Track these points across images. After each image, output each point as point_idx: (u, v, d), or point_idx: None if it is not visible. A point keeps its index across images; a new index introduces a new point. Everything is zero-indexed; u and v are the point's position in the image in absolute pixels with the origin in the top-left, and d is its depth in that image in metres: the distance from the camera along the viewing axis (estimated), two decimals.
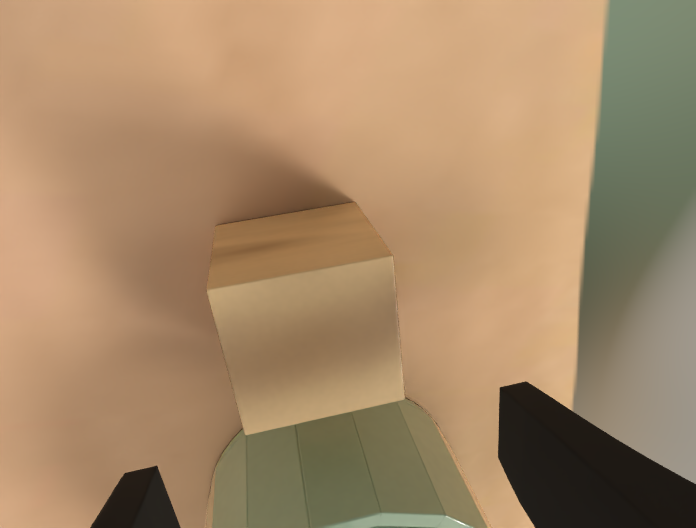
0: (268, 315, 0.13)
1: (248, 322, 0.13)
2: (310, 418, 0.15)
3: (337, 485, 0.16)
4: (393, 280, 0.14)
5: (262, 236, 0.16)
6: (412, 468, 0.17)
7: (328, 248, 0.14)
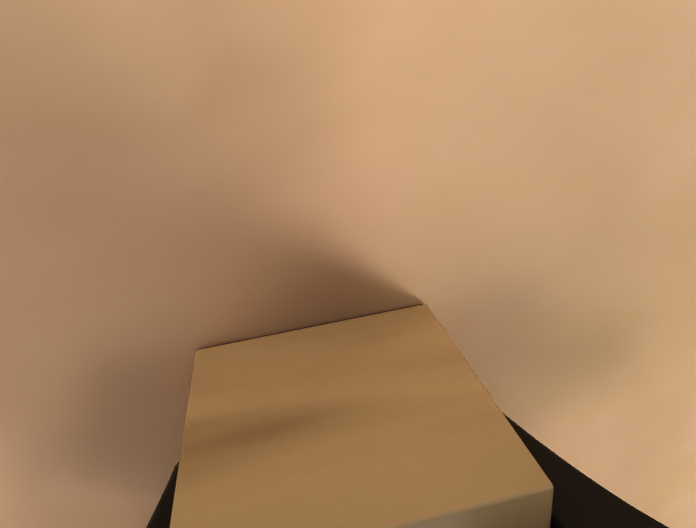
0: None
1: None
2: None
3: None
4: (546, 526, 0.07)
5: (276, 390, 0.09)
6: None
7: (407, 442, 0.07)
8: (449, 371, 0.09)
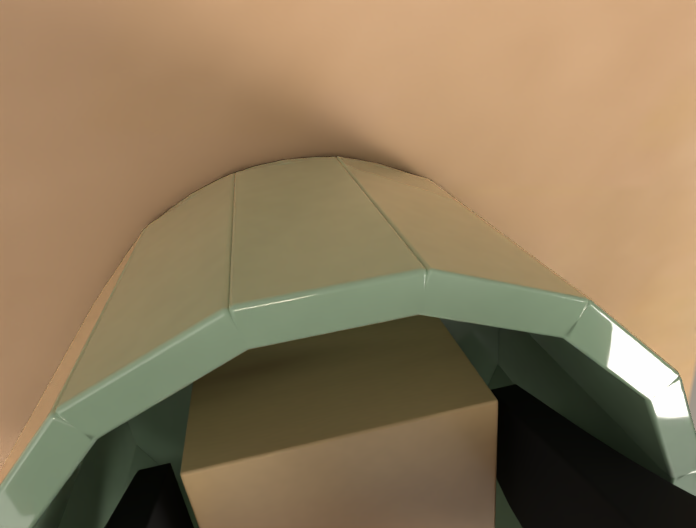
0: (287, 502, 0.08)
1: (254, 515, 0.08)
2: None
3: (312, 240, 0.07)
4: (494, 436, 0.08)
5: None
6: (486, 236, 0.08)
7: (382, 372, 0.09)
8: (421, 321, 0.10)
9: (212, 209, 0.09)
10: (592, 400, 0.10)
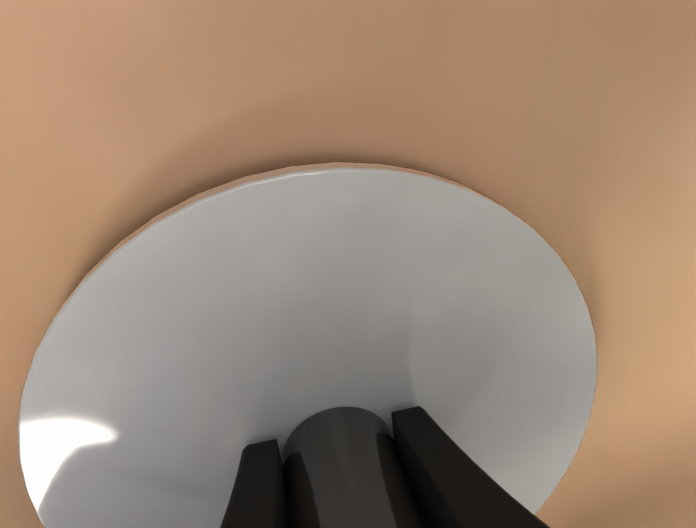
0: None
1: None
2: None
3: None
4: None
5: None
6: None
7: None
8: None
9: None
10: None
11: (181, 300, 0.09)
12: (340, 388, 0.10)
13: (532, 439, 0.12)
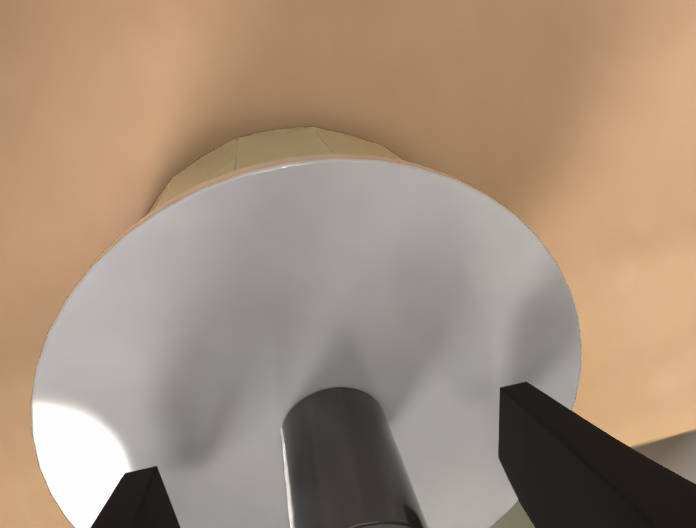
0: None
1: None
2: None
3: None
4: None
5: None
6: None
7: None
8: None
9: None
10: None
11: (185, 283, 0.09)
12: (335, 369, 0.11)
13: None
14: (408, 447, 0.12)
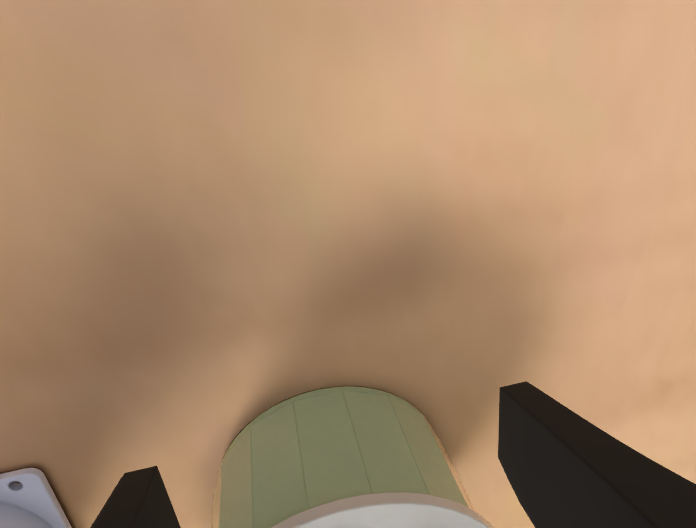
0: None
1: None
2: None
3: None
4: None
5: None
6: None
7: None
8: None
9: (452, 466, 0.23)
10: None
11: None
12: None
13: None
14: None
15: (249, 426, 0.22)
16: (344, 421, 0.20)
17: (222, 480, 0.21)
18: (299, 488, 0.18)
